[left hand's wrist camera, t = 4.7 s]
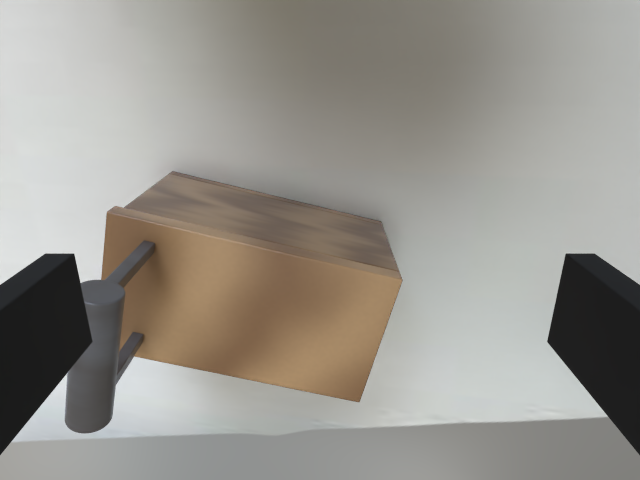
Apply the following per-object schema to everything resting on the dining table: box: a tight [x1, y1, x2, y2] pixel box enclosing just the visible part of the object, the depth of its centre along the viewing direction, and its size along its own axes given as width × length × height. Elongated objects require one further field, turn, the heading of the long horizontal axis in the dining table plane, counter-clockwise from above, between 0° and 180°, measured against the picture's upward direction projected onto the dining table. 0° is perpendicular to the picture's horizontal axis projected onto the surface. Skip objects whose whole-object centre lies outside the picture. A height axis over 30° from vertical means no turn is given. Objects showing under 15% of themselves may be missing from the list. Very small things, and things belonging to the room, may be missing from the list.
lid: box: [65, 206, 402, 433], centre depth 25 cm, size 17×9×9 cm, turn 76°
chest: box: [124, 171, 399, 272], centre depth 33 cm, size 17×9×9 cm, turn 76°
